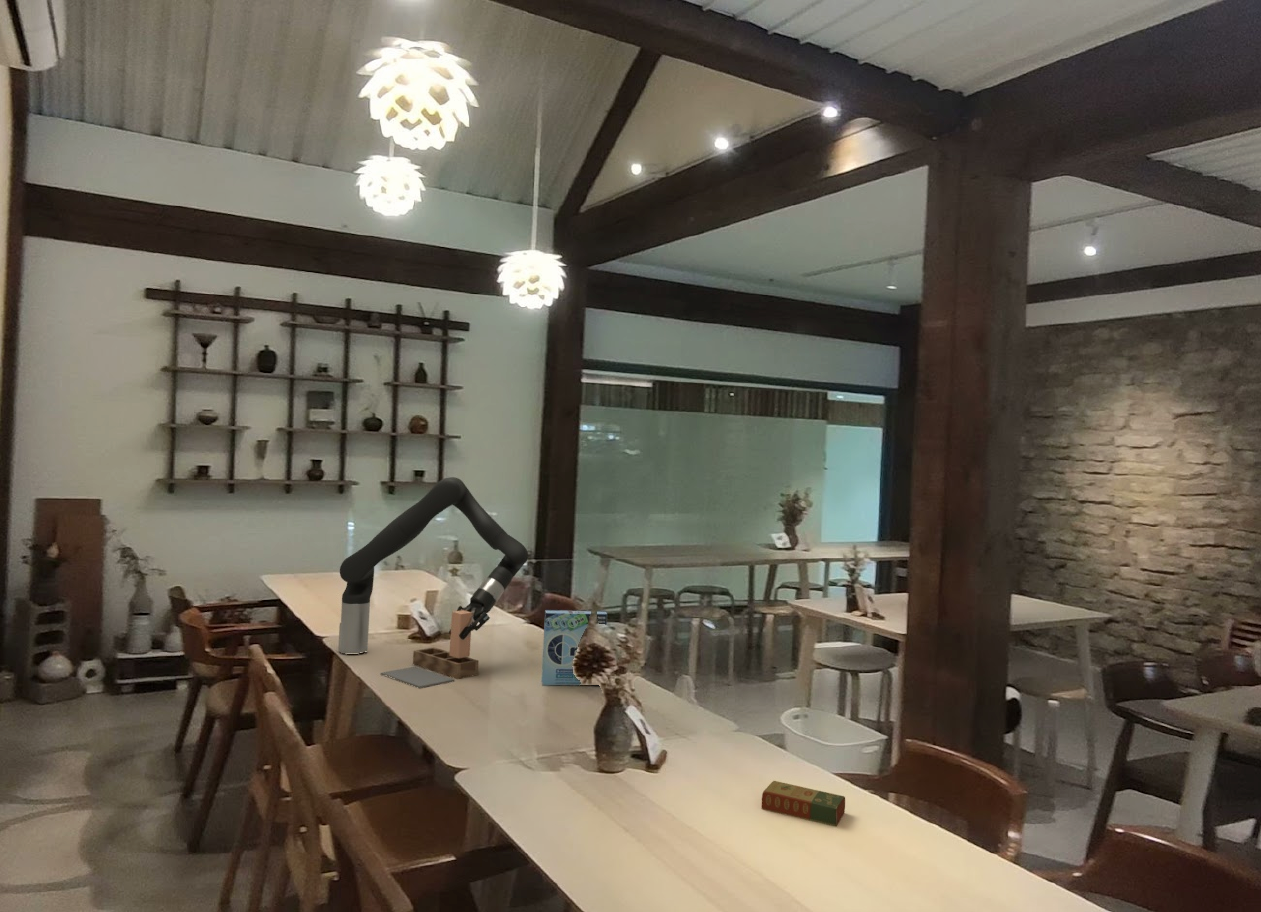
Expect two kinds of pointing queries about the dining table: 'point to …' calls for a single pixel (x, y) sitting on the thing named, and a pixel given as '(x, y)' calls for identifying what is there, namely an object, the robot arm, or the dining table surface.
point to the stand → (445, 663)
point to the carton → (803, 803)
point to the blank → (458, 623)
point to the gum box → (563, 644)
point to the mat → (418, 677)
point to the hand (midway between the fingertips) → (456, 636)
